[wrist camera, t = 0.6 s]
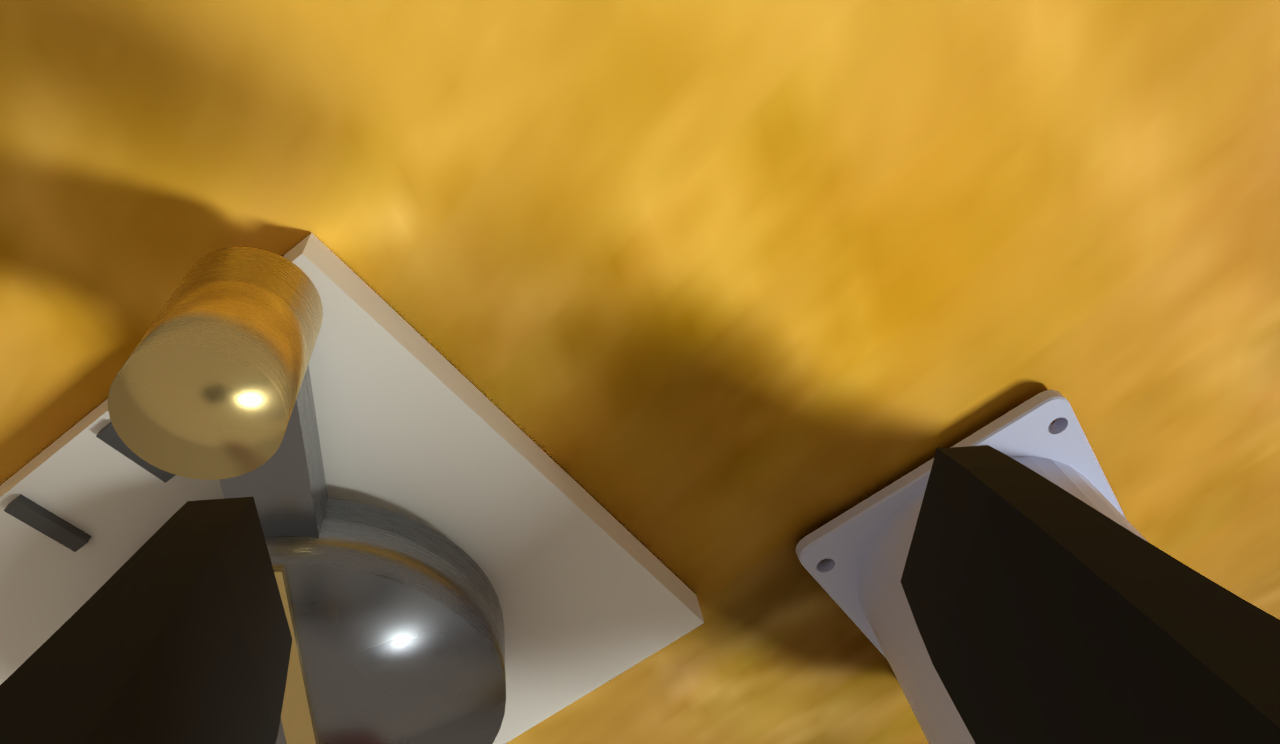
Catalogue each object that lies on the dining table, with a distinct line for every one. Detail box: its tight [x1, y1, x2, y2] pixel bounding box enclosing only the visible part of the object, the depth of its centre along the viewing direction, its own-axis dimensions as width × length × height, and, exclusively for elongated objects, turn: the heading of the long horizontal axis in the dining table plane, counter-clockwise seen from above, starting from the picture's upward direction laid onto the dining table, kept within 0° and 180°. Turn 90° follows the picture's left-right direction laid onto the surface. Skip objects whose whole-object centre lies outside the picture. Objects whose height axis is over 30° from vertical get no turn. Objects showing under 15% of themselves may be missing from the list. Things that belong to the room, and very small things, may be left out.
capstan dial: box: [108, 247, 506, 744], centre depth 17 cm, size 15×9×4 cm, turn 175°
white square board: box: [0, 233, 704, 744], centre depth 21 cm, size 14×14×1 cm
